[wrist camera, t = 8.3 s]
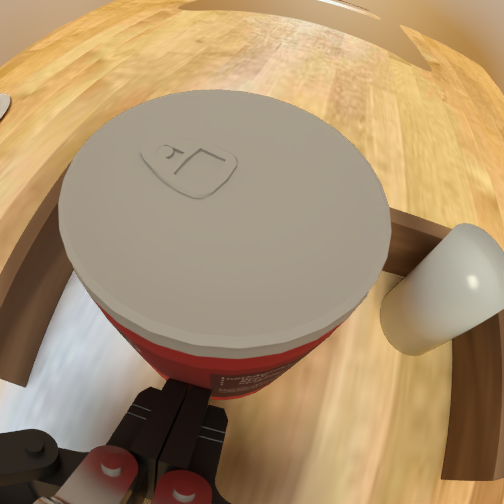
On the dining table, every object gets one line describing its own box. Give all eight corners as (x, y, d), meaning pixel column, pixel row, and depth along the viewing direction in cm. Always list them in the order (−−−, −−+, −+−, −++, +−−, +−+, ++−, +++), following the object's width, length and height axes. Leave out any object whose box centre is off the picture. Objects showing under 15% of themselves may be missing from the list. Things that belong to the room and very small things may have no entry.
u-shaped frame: (13, 380, 13) (-35, 359, 9) (104, 188, 20) (89, 138, 16) (452, 477, 12) (504, 477, 8) (458, 279, 20) (496, 246, 16)
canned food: (168, 248, 18) (143, 74, 9) (302, 283, 18) (385, 127, 9) (121, 372, 14) (-6, 270, 5) (275, 417, 14) (392, 391, 5)
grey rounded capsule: (368, 332, 17) (440, 276, 11) (393, 274, 19) (454, 207, 13) (427, 368, 16) (510, 328, 10) (445, 308, 18) (514, 255, 12)
